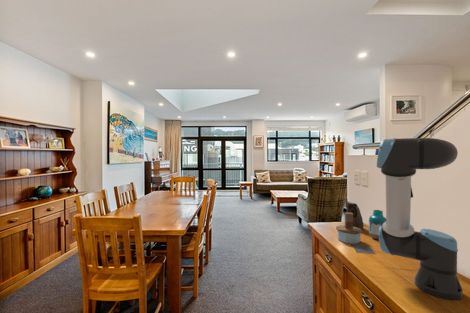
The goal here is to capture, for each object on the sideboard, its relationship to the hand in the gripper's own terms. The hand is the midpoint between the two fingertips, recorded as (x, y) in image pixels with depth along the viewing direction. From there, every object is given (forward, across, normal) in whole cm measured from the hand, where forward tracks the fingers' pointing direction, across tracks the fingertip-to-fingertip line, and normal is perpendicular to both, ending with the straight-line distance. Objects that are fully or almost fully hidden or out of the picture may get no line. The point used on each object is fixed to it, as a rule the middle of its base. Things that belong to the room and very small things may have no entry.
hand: (401, 207), depth 134 cm
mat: (+27, +4, +18) cm, 32 cm away
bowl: (+27, +18, +23) cm, 40 cm away
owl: (+27, +51, +11) cm, 59 cm away
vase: (+27, +28, +3) cm, 39 cm away
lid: (+20, +18, +23) cm, 35 cm away
